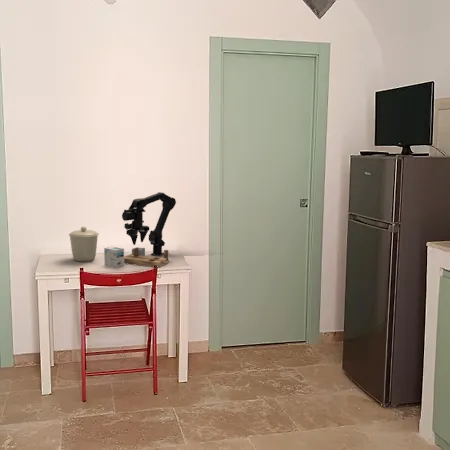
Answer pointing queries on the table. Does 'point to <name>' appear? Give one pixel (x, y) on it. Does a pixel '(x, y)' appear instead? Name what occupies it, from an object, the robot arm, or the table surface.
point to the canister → (83, 244)
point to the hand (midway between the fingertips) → (138, 243)
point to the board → (144, 259)
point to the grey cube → (139, 251)
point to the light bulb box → (114, 256)
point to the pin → (166, 254)
